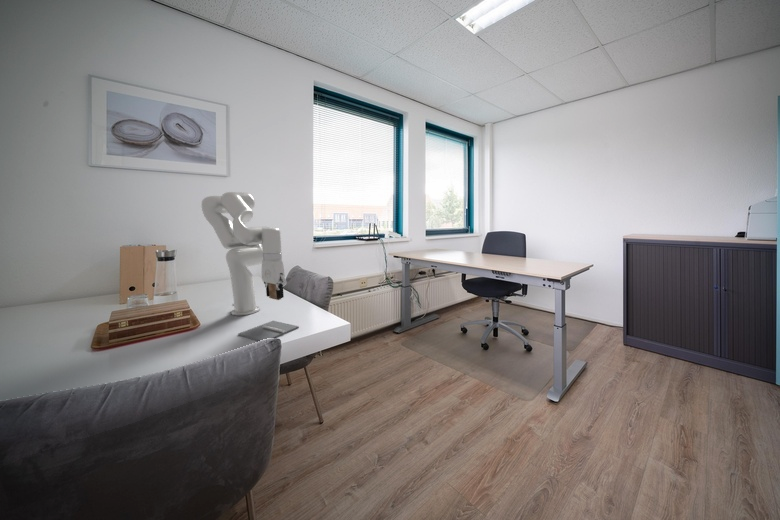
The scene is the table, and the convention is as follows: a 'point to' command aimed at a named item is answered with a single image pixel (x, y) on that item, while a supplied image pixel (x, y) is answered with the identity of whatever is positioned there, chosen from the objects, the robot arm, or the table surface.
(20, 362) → the table surface
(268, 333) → the mat
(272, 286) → the tile
